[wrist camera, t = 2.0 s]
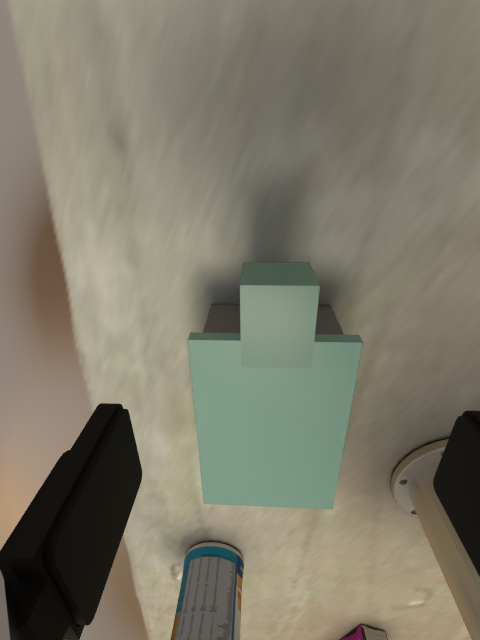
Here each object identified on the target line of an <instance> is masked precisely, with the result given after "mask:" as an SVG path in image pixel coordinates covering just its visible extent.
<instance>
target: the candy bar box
mask: <svg viewBox="0 0 480 640" xmlns="http://www.w3.org/2000/svg"><path fill="white" fill-rule="evenodd" d="M341 640H388V639H387V635H386V632H385V631H383V630H381V629H377V628H373V627H369V626H365V625H359V626H358V627H357V628H355V629H354V630H353V631H351V632H350V633H349V634H348V635H346V636H345V637H344V638H342V639H341Z"/></svg>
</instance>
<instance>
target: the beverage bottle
mask: <svg viewBox="0 0 480 640" xmlns="http://www.w3.org/2000/svg"><path fill="white" fill-rule="evenodd" d="M243 569H244V562H243V558H242V556H241V554H240V553H239V552H238V551H237V550H236V549H234V548H232V547H231V546H228V545H226V544H222V543H216V542H206V543H201V544H198V545H195V546H193V547H192V548H191V549H190V550H189V551H188V552H187V554H186V556H185V561H184V569H183V577H182V582H181V588H180V593H179V599H178V604H177V609H176V615H175V620H174V625H173V630H172V636H171V640H240V622H241V595H242V578H243Z"/></svg>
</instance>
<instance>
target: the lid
mask: <svg viewBox="0 0 480 640" xmlns="http://www.w3.org/2000/svg"><path fill="white" fill-rule="evenodd" d="M319 290H320V285H319V283H318V280H317V278H316V276H315V274H314V272H313V270H312V268H311V265H310V263H309V262H243V268H242V274H241V281H240V331H241V333H190V335H189V338H188V349H189V359H190V369H191V379H192V389H193V399H194V409H195V420H196V430H197V440H198V450H199V460H200V470H201V480H202V490H203V500H204V504H221V505H244V506H267V507H290V508H313V509H333V505H334V499H335V493H336V488H337V482H338V477H339V471H340V466H341V460H342V455H343V449H344V444H345V438H346V433H347V427H348V422H349V416H350V411H351V405H352V400H353V394H354V389H355V383H356V378H357V372H358V367H359V361H360V356H361V350H362V345H363V342H362V340H361V338H360V337H359V335H323V334H315V329H316V319H317V310H318V300H319Z"/></svg>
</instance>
